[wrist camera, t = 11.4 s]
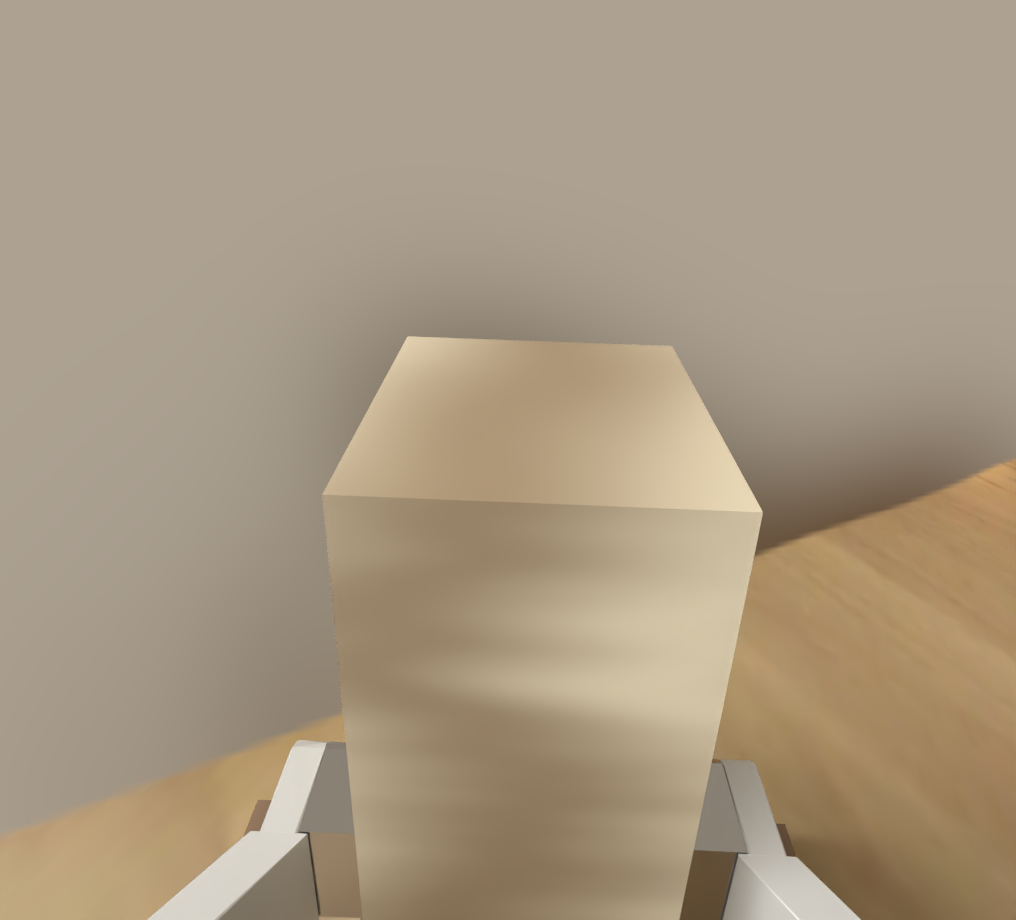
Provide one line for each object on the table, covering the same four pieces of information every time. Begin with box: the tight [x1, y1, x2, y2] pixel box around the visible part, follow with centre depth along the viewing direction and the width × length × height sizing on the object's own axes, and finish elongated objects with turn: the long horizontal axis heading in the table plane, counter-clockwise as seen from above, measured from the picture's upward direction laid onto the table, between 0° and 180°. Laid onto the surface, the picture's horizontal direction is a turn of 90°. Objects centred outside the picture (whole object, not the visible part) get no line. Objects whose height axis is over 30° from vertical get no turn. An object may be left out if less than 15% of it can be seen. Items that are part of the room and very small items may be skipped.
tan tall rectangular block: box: [322, 337, 763, 920], centre depth 12 cm, size 4×5×14 cm
